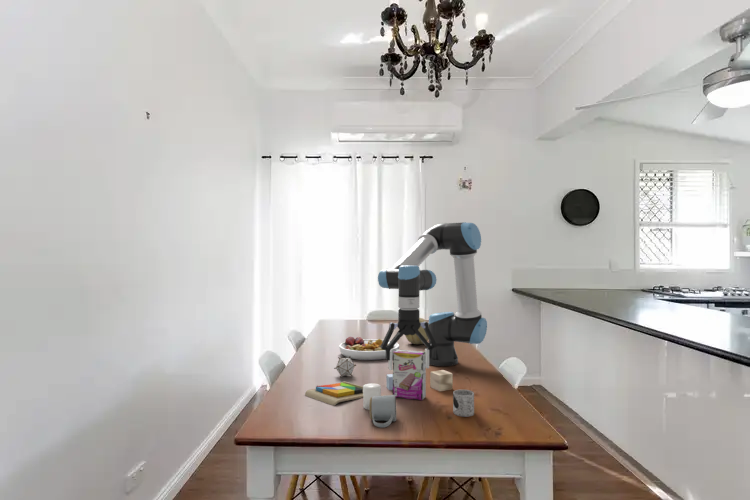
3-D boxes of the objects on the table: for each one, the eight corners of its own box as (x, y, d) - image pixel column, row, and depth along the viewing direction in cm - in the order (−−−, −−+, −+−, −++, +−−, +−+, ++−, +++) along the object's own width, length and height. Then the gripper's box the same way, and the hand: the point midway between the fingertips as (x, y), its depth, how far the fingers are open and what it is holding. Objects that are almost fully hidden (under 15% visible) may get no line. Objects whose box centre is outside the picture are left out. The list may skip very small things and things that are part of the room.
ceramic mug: (370, 415, 152) (370, 391, 152) (396, 415, 152) (396, 391, 152) (368, 428, 142) (368, 402, 141) (395, 429, 141) (395, 403, 141)
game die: (348, 386, 197) (352, 370, 192) (329, 377, 199) (333, 362, 193) (356, 371, 204) (360, 355, 199) (338, 363, 206) (342, 347, 200)
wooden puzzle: (374, 395, 175) (374, 385, 175) (334, 407, 161) (334, 397, 161) (342, 385, 187) (342, 376, 187) (303, 396, 174) (303, 387, 174)
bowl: (409, 352, 244) (409, 337, 244) (378, 364, 219) (378, 347, 219) (361, 346, 260) (361, 331, 260) (327, 357, 235) (327, 341, 235)
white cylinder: (378, 403, 164) (378, 382, 164) (383, 409, 158) (382, 387, 158) (361, 404, 163) (361, 384, 162) (365, 410, 157) (364, 389, 157)
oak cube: (443, 385, 185) (443, 369, 185) (452, 389, 180) (452, 373, 180) (430, 387, 183) (430, 371, 183) (439, 391, 177) (439, 375, 177)
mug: (452, 409, 158) (452, 389, 158) (473, 409, 157) (473, 389, 157) (454, 420, 148) (454, 398, 148) (476, 420, 147) (476, 399, 147)
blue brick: (406, 386, 185) (406, 373, 185) (409, 389, 181) (409, 375, 181) (386, 387, 183) (386, 374, 183) (389, 390, 179) (389, 377, 179)
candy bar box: (392, 397, 170) (392, 351, 170) (396, 393, 175) (396, 349, 174) (423, 401, 166) (422, 354, 166) (426, 396, 171) (426, 351, 171)
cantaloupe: (434, 342, 268) (434, 316, 268) (426, 347, 254) (426, 319, 254) (409, 340, 274) (409, 314, 274) (400, 345, 260) (400, 318, 260)
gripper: (377, 310, 164) (376, 372, 164) (445, 309, 169) (445, 369, 169) (372, 308, 171) (372, 367, 171) (438, 306, 177) (438, 364, 176)
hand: (408, 368), depth 170 cm, fingers open, 13 cm apart
